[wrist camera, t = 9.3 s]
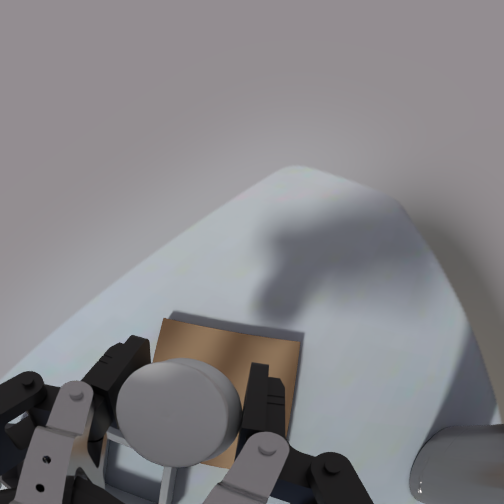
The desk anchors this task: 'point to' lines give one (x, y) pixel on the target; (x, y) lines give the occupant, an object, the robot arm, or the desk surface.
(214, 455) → the pill bottle
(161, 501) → the sleeve
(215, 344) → the walnut pad
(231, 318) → the desk surface
